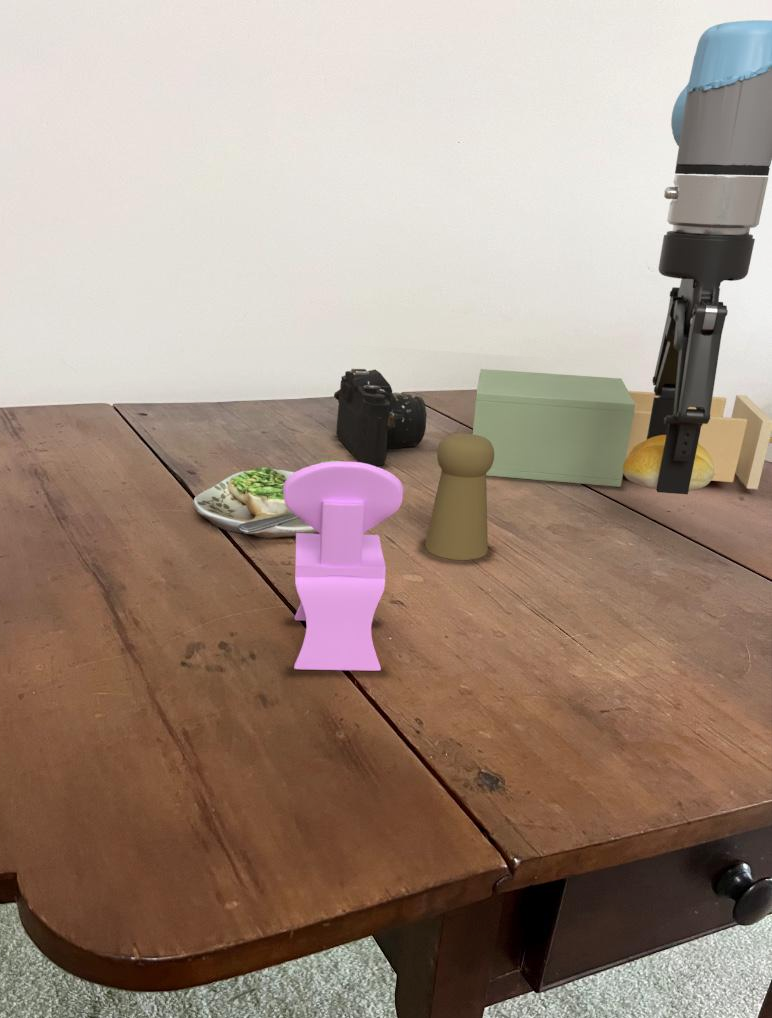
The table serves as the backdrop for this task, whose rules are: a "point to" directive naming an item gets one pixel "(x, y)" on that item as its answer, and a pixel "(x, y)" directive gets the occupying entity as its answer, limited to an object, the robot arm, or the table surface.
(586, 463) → the cabinet
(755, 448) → the drawer
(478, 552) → the cork
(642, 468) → the bread roll
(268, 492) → the salad plate
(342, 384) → the film camera
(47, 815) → the table surface
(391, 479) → the toy chair
